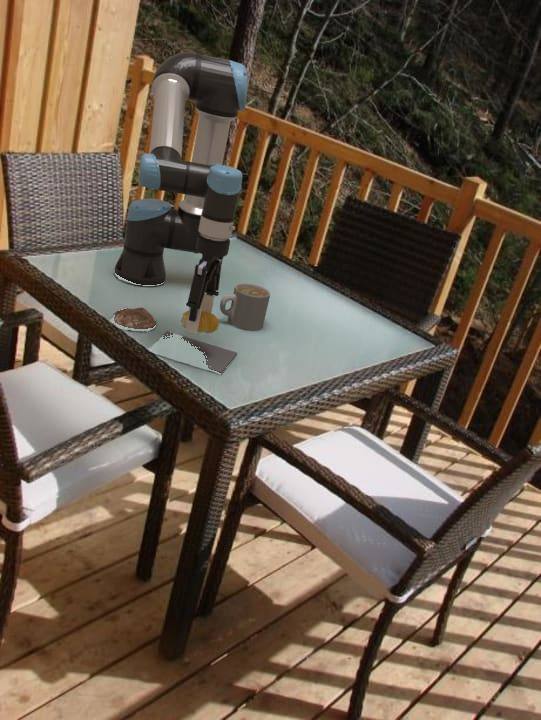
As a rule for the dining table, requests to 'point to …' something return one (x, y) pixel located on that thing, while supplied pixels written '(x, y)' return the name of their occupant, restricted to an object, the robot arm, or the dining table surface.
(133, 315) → the shell
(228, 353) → the mat
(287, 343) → the dining table surface
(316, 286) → the dining table surface
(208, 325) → the bread roll
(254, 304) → the coffee mug
